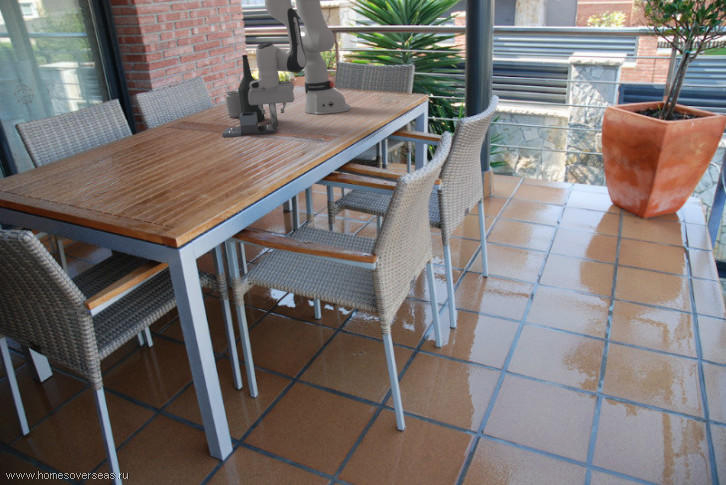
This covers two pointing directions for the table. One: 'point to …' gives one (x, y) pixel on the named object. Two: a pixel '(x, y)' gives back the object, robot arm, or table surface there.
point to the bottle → (245, 89)
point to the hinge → (249, 126)
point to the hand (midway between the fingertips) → (273, 113)
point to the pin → (273, 114)
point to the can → (233, 104)
